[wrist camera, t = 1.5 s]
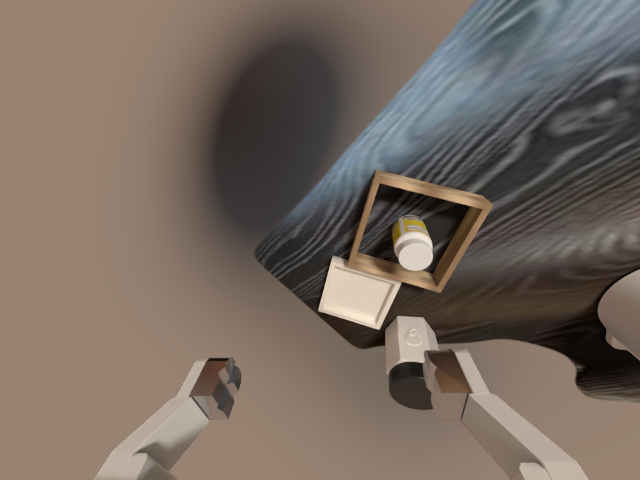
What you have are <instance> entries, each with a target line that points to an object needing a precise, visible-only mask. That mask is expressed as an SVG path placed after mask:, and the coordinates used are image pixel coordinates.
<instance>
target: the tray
mask: <svg viewBox="0 0 640 480" xmlns="http://www.w3.org/2000/svg"><path fill="white" fill-rule="evenodd" d="M347 265H348V260H346V259H343V258H339V257H336V256H333V257H332V260H331V264H330V268H329V272H328V275H327V279H326V283H325V287H324V290H323V294H322V298H321V302H320V306H319V309H318V311H320V312H324V313H327V314H330V315H333V316H337V317H340V318H343V319H346V320H349V321H353V322H356V323H359V324H362V325H365V326H369V327H372V328H375V329H378V330H379V329H380V327H381V325H382V323H383V321H384V319H385V316H386V314H387V312H388V310H389V308H390V306H391V304H392V302H393V300H394V298H395V296H396V293H397V291H398V289H399V287H400V285H401V283H402V282H401V281H398V280H395V279H391V278H388V277H384V276H381V275H377V274H374V273H370V272H367V271H363V270H360V269H357V268H353V267H350V266H347Z"/></svg>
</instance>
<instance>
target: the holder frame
mask: <svg viewBox="0 0 640 480" xmlns="http://www.w3.org/2000/svg"><path fill="white" fill-rule="evenodd" d="M380 183H381V184H385V185H389V186H393V187H397V188H401V189H405V190H409V191H413V192H417V193H421V194H424V195H428V196H432V197H436V198H440V199H444V200H448V201H452V202H456V203H460V204H464V205H468V206H470V207H469V209H468V211H467V213H466V215H465V217H464V218H463V220H462V222H461V224H460V226H459V227H458V229H457V231H456V233H455V235H454V236H453V238H452V240H451V242H450V244H449V246H448V247H447V249H446V251H445V253H444V255H443V256H442V258H441V260H440V262H439V264H438V265H437V267H436V269H435V271H434V273H433V274H432V273H429V272H425V271H422V270H419V271H411V270H408V269H405V268H404V267H403V266H402V265H400V264H397V263H393V262H390V261H386V260H383V259H379V258H376V257H372V256H369V255H365V254H362V253H358V252H357V251H358V248H359V245H360V242H361V239H362V236H363V233H364V230H365V227H366V224H367V221H368V217H369V214H370V211H371V208H372V205H373V202H374V199H375V196H376V193H377V190H378V187H379V184H380ZM492 206H493V204H491V203H490V202H489V201H488V200H487V199H486V198H484V197H483V196H481V195H477V194H473V193H468V192H464V191H460V190H456V189H452V188H448V187H444V186H440V185H436V184H432V183H428V182H424V181H420V180H416V179H412V178H408V177H404V176H400V175H396V174H392V173H388V172H384V171H380V170H376V171H375V174H374V177H373V181H372V184H371V187H370V190H369V194H368V197H367V200H366V203H365V207H364V210H363V213H362V216H361V220H360V223H359V226H358V229H357V233H356V236H355V239H354V242H353V246H352V249H351V252H350V256H349V260H348V265H347V266H350V267H353V268H357V269H360V270H363V271H367V272H370V273H374V274H377V275H381V276H384V277H388V278H391V279H395V280H398V281H401V282H405V283H408V284H412V285H415V286H419V287H422V288H426V289H429V290H433V291H436V292H439V293H440V292H441V291H442V289H443V287H444V286H445V284H446V282H447V281H448V279H449V277H450V276H451V274H452V272H453V271H454V269H455V267H456V266H457V264H458V262H459V261H460V259H461V258H462V256H463V254H464V253H465V251H466V249H467V248H468V246H469V244H470V243H471V241H472V239H473V238H474V236H475V234H476V233H477V231H478V229H479V228H480V226H481V224H482V223H483V221H484V219H485V218H486V216H487V214H488V213H489V211H490V210H491V208H492Z"/></svg>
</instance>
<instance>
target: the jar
mask: <svg viewBox="0 0 640 480" xmlns="http://www.w3.org/2000/svg"><path fill="white" fill-rule="evenodd" d="M385 350H386V374H387V376H388V377H389V392H390V395H391V396H392V398H393V399H394V400H395V401H397V402H398V403H399V404H401V405H403V406H406V407H408V408H412V409H418V410H429V409H433V406H432V403H431V394H432V392H431V391H430V390H429V389H428V388H427V386H426V383H425V379H424V375H423V362H424V361H425V358H424V351H425V350H439V349H438V345H437V341H436V337H435V333H434V332H433V330H432V329H431V328H430V326H429V325H428V324H427V322H426V321H425V319H424V318H423V317H408V316H397V317H396V318H395V319H394V320H393V321H392V323H391V324H390V325H389V326H388V327H387V328H386V329H385Z"/></svg>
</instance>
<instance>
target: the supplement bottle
mask: <svg viewBox="0 0 640 480" xmlns="http://www.w3.org/2000/svg"><path fill="white" fill-rule="evenodd" d="M392 236H393V245H394V252H395V254H396V256H397V257H398V259H399V262H400V264H401V265H402V266H403V267H404V268H405V269H408V270H411V271H419V270H422V269H425V268H426V267H428V266H429V265H430V263H431V262H432V259H433V254H432V241H431V239H430V236H429V234H428V232H427V229H426V227H425V224H424V222H423V221H422V220H421V219H420V218H419V217H417V216H414V215H405V216H402V217H400V218H399V219H397V220H396V221H395V223H394V224H393V227H392Z"/></svg>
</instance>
